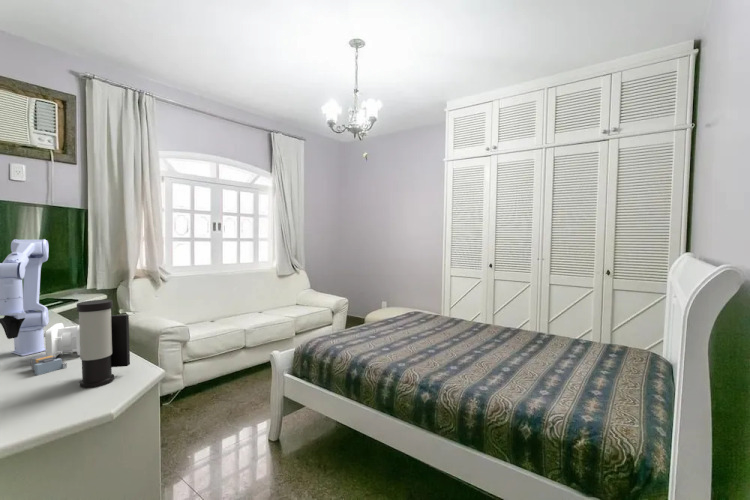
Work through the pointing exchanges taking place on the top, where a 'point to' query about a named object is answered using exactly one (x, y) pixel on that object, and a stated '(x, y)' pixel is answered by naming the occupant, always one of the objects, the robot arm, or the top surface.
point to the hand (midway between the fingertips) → (12, 337)
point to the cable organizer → (62, 339)
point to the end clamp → (48, 366)
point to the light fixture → (101, 342)
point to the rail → (64, 365)
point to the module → (40, 359)
